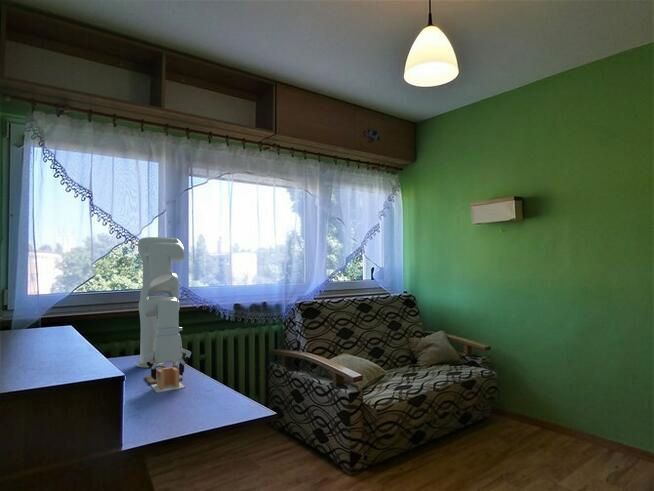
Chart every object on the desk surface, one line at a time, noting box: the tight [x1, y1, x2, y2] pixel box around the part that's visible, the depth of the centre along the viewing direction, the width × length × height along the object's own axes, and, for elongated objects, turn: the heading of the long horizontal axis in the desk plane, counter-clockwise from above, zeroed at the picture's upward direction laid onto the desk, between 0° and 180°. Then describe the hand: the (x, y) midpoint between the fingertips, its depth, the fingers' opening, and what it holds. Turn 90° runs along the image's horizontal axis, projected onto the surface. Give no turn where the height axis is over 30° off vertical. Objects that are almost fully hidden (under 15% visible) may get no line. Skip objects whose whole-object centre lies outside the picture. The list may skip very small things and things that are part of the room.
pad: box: [150, 381, 186, 393], centre depth 158 cm, size 10×10×1 cm
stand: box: [144, 364, 184, 386], centre depth 169 cm, size 12×12×6 cm
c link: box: [156, 366, 180, 390], centre depth 158 cm, size 7×7×6 cm
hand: (167, 376), depth 158 cm, fingers open, 9 cm apart
